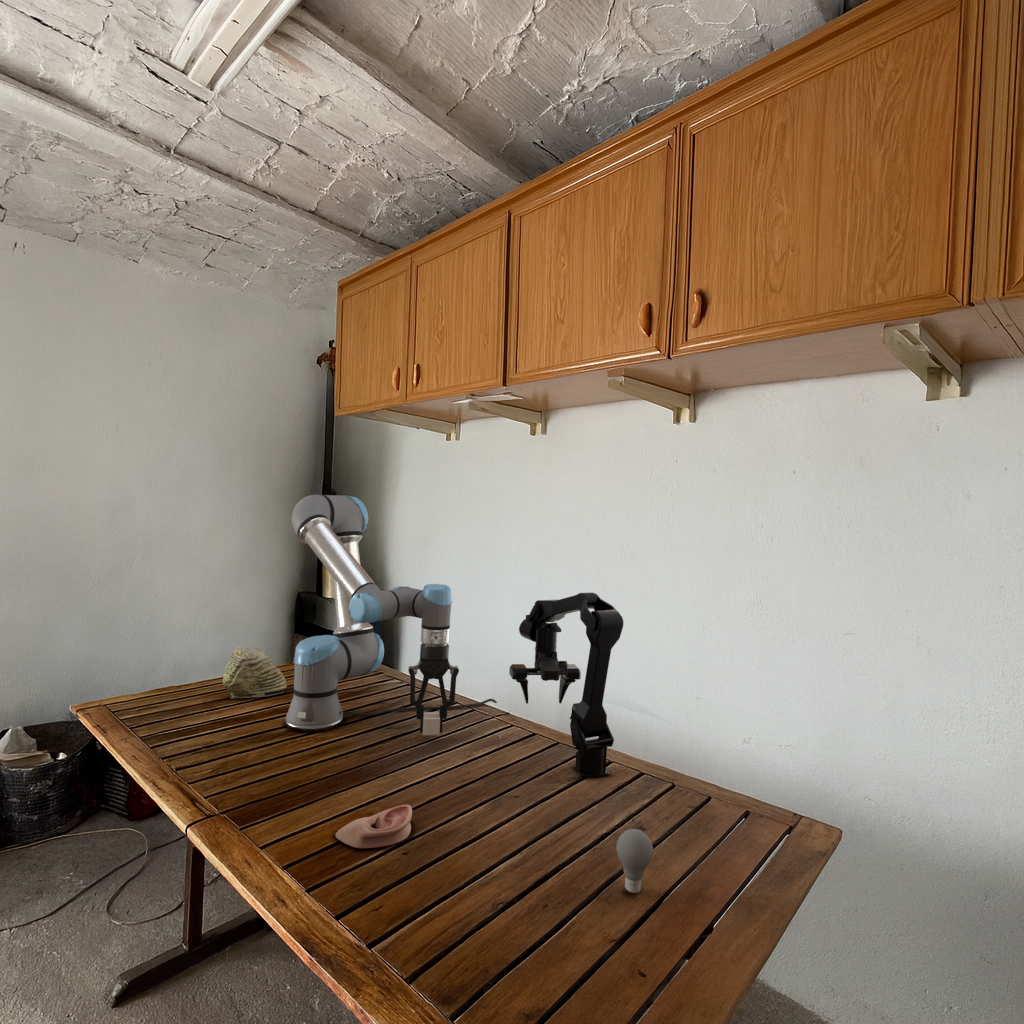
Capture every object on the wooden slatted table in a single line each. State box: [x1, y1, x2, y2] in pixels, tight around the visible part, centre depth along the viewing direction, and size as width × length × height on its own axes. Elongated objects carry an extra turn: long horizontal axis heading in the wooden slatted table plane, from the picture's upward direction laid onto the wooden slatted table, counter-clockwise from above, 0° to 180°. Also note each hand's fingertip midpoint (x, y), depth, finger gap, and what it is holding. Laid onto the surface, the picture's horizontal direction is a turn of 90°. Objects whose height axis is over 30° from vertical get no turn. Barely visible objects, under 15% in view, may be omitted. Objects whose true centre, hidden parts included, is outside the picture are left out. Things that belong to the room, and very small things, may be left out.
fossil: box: [222, 646, 288, 699], centre depth 198 cm, size 9×18×15 cm, turn 132°
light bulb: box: [615, 828, 654, 894], centre depth 106 cm, size 6×6×10 cm
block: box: [422, 711, 440, 736], centre depth 168 cm, size 4×5×4 cm
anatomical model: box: [335, 804, 413, 849], centre depth 120 cm, size 13×4×12 cm
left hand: (430, 730), depth 168 cm, fingers closed on block, 4 cm apart
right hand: (543, 703), depth 172 cm, fingers open, 9 cm apart
